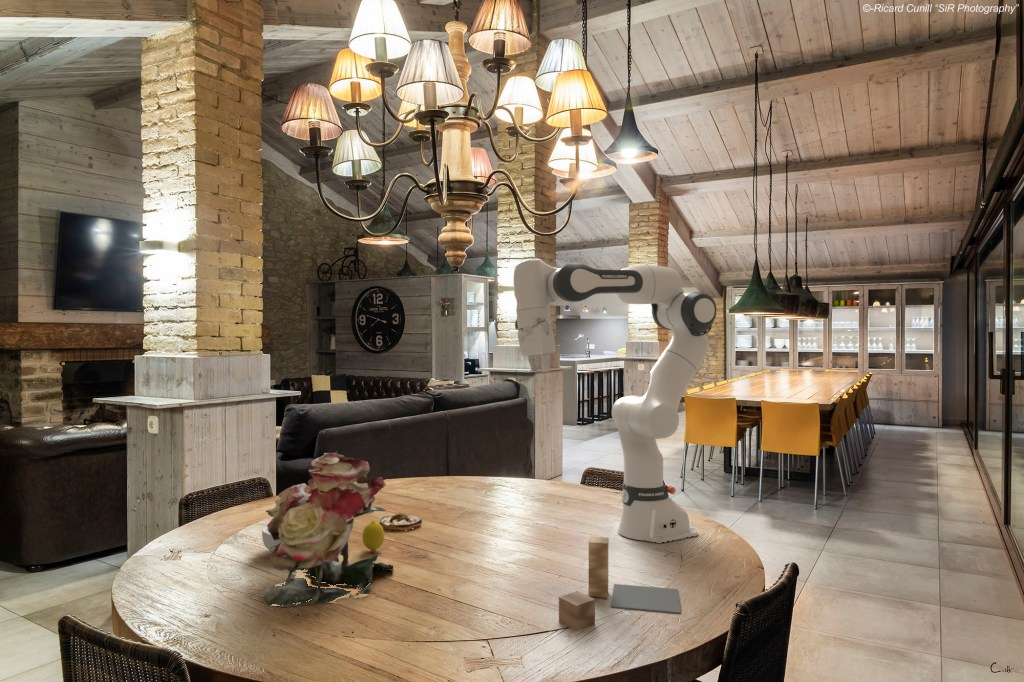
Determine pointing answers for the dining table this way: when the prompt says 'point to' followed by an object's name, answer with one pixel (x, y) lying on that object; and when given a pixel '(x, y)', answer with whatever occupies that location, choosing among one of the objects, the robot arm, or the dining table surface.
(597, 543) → the oak block
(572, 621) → the walnut cube
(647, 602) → the felt mat
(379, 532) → the lemon
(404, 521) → the cream pie
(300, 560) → the rose bouquet
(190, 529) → the dining table surface
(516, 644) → the dining table surface
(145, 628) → the dining table surface
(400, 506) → the dining table surface
